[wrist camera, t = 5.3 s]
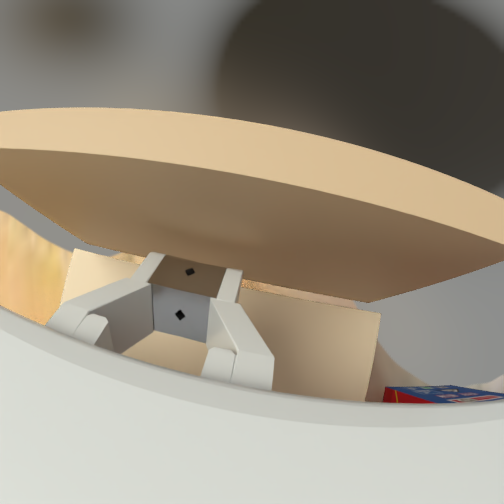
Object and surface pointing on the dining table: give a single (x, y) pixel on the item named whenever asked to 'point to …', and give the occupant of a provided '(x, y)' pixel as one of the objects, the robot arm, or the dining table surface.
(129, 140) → the flap
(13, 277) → the dining table surface
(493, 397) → the pasta box
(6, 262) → the dining table surface
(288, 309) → the carton
